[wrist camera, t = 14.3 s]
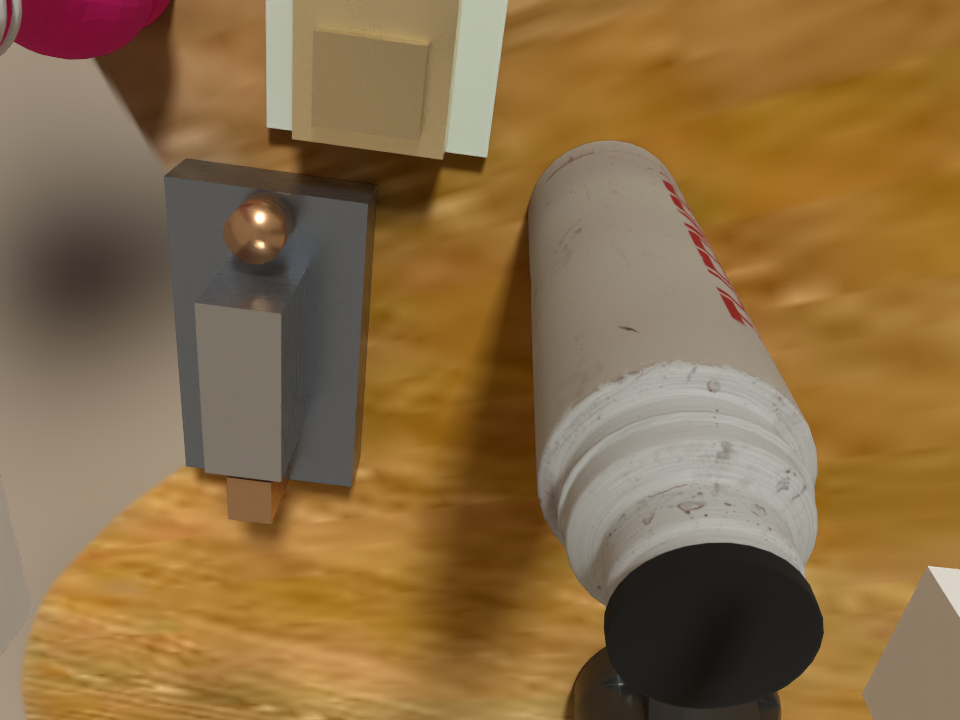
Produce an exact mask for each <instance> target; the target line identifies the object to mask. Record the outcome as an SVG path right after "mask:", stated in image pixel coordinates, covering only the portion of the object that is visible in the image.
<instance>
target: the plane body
mask: <svg viewBox="0 0 960 720" xmlns="http://www.w3.org/2000/svg"><path fill="white" fill-rule="evenodd" d="M164 182H165V195H166V208H167V220H168V233H169V246H170V260H171V273H172V287H173V299H174V313H175V326H176V339H177V351H178V365H179V378H180V391H181V404H182V418H183V431H184V443H185V457H186V466H187V467H195V468H203V469H205V473H212V474H220V475H228V476H227V493H228V515H229V519H232V520H240V521H248V522H256V523H264V524H272V522H273V519H274V517H275V514H276V511H277V509H278V506H279V504H280V501H281V499H282V496H283V493H284V491H285V488H286V486H287V483H288V481H289V479H291V480H299V481H307V482H315V483H323V484H331V485H339V486H347V487H352V484H353V481H354V477H355V473H356V470H357V466H358V463H359V459H360V451H361V435H362V419H363V403H364V387H365V372H366V356H367V340H368V324H369V308H370V293H371V277H372V261H373V245H374V230H375V214H376V198H377V185H376V184H369V183H361V182H354V181H347V180H339V179H332V178H325V177H317V176H310V175H303V174H295V173H288V172H281V171H273V170H266V169H259V168H251V167H244V166H237V165H229V164H222V163H215V162H207V161H200V160H193V159H185V160H184V161H182V162H181V163H180V164H179V165H178V166H176V167H175V168H174V169H173V170H171V171H170V172H169V173H168V174H166V175H165V176H164Z"/></svg>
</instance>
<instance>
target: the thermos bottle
mask: <svg viewBox="0 0 960 720" xmlns="http://www.w3.org/2000/svg"><path fill="white" fill-rule="evenodd" d="M528 233H529V263H530V277H531V322H532V353H533V383H534V413H535V443H536V473H537V495H538V499H539V502H540V506H541V510H542V513H543V516H544V518H545V520H546V522H547V523H548V525H549V527H550V529H551V531H552V532H553V534H554V535H555V537H556V538H557V539H558V540H559V541H560V542H561V543H562V544H563V545H564V547H565V548H566V552H567V556H568V560H569V564H570V567H571V568H572V570H573V572H574V574H575V576H576V577H577V579H578V581H579V583H580V584H581V585H582V586H583V587H584V588H585V589H586V590H587V591H588V592H589V593H590V595H591V596H592V597H594V598H595V599H597V600H598V601H599V602H601V603H602V604H604V605H605V606H606V610H605V615H604V633H605V642H606V648H607V652H608V656H609V660H610V662H611V664H612V666H613V667H614V669H615V671H616V673H617V674H618V675H619V676H620V677H621V678H622V679H623V680H624V681H625V683H626V684H627V685H629V686H630V687H632V688H633V689H635V690H636V691H637V692H639V693H640V694H642V695H645V696H647V697H649V698H651V699H653V700H656V701H658V702H662V703H665V704H669V705H672V706H677V707H684V708H692V709H717V708H726V707H734V706H738V705H742V704H746V703H750V702H754V701H756V700H759V699H761V698H764V697H766V696H769V695H771V694H773V693H775V692H777V691H778V690H780V689H782V688H784V687H786V686H787V685H789V684H790V683H791V682H792V681H794V680H795V679H796V678H797V677H799V676H800V675H801V674H802V673H803V672H804V671H805V670H806V668H807V667H808V666H809V665H810V664H811V663H812V662H813V660H814V658H815V656H816V654H817V652H818V651H819V649H820V646H821V642H822V638H823V634H824V631H823V617H822V614H821V611H820V609H819V606H818V603H817V601H816V598H815V596H814V594H813V591H812V589H811V587H810V585H809V583H808V582H807V581H806V573H805V568H804V567H805V565H806V563H807V561H808V558H809V556H810V554H811V552H812V550H813V548H814V545H815V540H816V535H817V531H818V522H817V509H816V506H815V494H814V486H815V481H816V476H817V455H816V447H815V444H814V441H813V438H812V435H811V432H810V429H809V426H808V424H807V422H806V420H805V418H804V417H803V415H802V413H801V411H800V409H799V407H798V406H797V404H796V402H795V400H794V398H793V396H792V395H791V393H790V391H789V389H788V387H787V385H786V384H785V382H784V380H783V378H782V376H781V374H780V373H779V371H778V369H777V367H776V365H775V364H774V362H773V360H772V358H771V356H770V354H769V353H768V351H767V349H766V347H765V345H764V343H763V342H762V340H761V338H760V336H759V334H758V332H757V331H756V329H755V327H754V325H753V323H752V321H751V320H750V318H749V316H748V314H747V312H746V310H745V309H744V307H743V305H742V303H741V301H740V299H739V298H738V296H737V294H736V292H735V290H734V288H733V287H732V285H731V283H730V281H729V279H728V278H727V276H726V274H725V272H724V270H723V269H722V267H721V265H720V263H719V261H718V259H717V258H716V256H715V254H714V252H713V250H712V248H711V246H710V245H709V243H708V241H707V239H706V237H705V235H704V234H703V232H702V230H701V228H700V226H699V224H698V223H697V221H696V219H695V217H694V215H693V213H692V212H691V210H690V208H689V206H688V204H687V202H686V201H685V199H684V197H683V195H682V193H681V192H680V190H679V188H678V186H677V184H676V182H675V181H674V179H673V177H672V176H671V174H670V173H669V171H668V169H667V168H666V167H665V166H664V165H663V164H662V162H661V161H660V160H659V159H658V158H657V157H655V156H654V155H652V154H651V153H649V152H648V151H646V150H645V149H643V148H640V147H638V146H635V145H633V144H630V143H625V142H619V141H597V142H593V143H588V144H584V145H581V146H579V147H577V148H574V149H572V150H570V151H568V152H566V153H565V154H564V155H562V156H561V157H559V158H558V159H556V160H555V161H554V162H553V163H552V164H551V165H550V166H549V167H548V168H547V169H546V170H545V171H544V173H543V174H542V176H541V177H540V179H539V180H538V182H537V184H536V186H535V188H534V191H533V193H532V196H531V199H530V204H529V209H528Z"/></svg>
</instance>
